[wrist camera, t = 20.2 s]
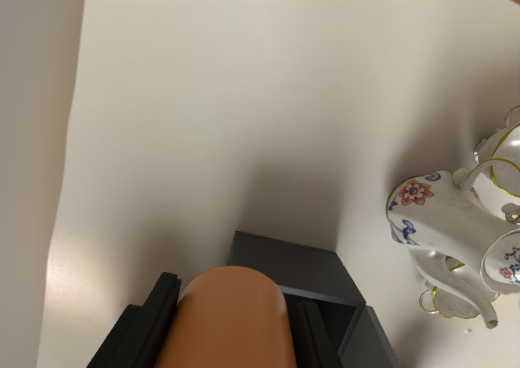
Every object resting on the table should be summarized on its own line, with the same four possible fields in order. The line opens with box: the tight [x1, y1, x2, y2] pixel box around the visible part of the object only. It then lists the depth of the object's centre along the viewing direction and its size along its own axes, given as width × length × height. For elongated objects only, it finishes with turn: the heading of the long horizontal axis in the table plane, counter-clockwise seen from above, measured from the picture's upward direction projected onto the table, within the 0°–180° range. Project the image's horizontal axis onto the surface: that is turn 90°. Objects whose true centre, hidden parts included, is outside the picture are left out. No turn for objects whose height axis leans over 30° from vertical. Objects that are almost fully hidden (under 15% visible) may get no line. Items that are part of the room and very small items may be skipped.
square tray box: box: [227, 231, 366, 360], centre depth 32 cm, size 15×13×10 cm
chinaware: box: [386, 105, 520, 329], centre depth 27 cm, size 28×17×17 cm, turn 175°
